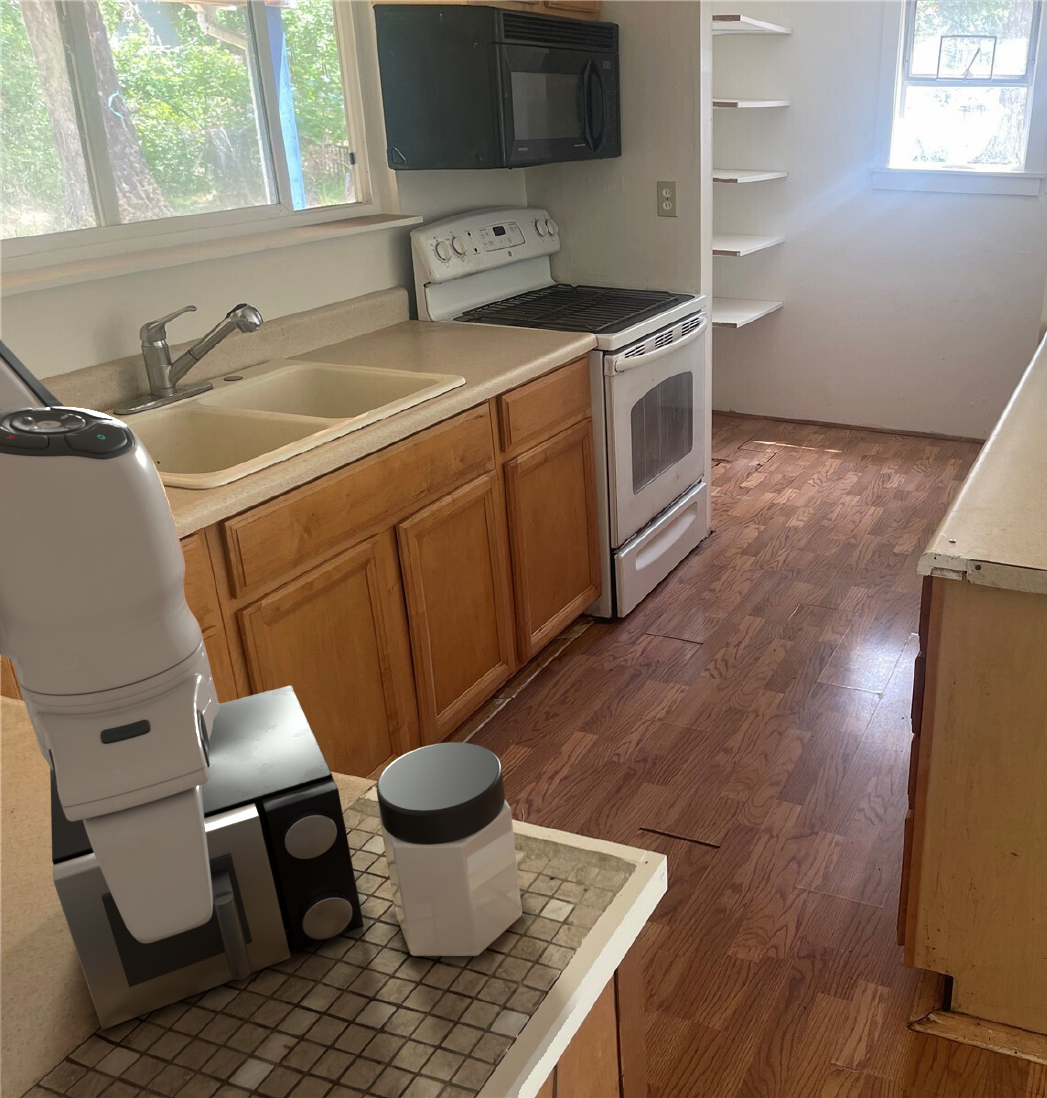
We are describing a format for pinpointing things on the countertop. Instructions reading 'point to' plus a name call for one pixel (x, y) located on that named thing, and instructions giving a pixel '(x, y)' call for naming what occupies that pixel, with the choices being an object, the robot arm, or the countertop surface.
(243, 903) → the oven door
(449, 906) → the jar
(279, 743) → the oven
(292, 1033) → the countertop surface
